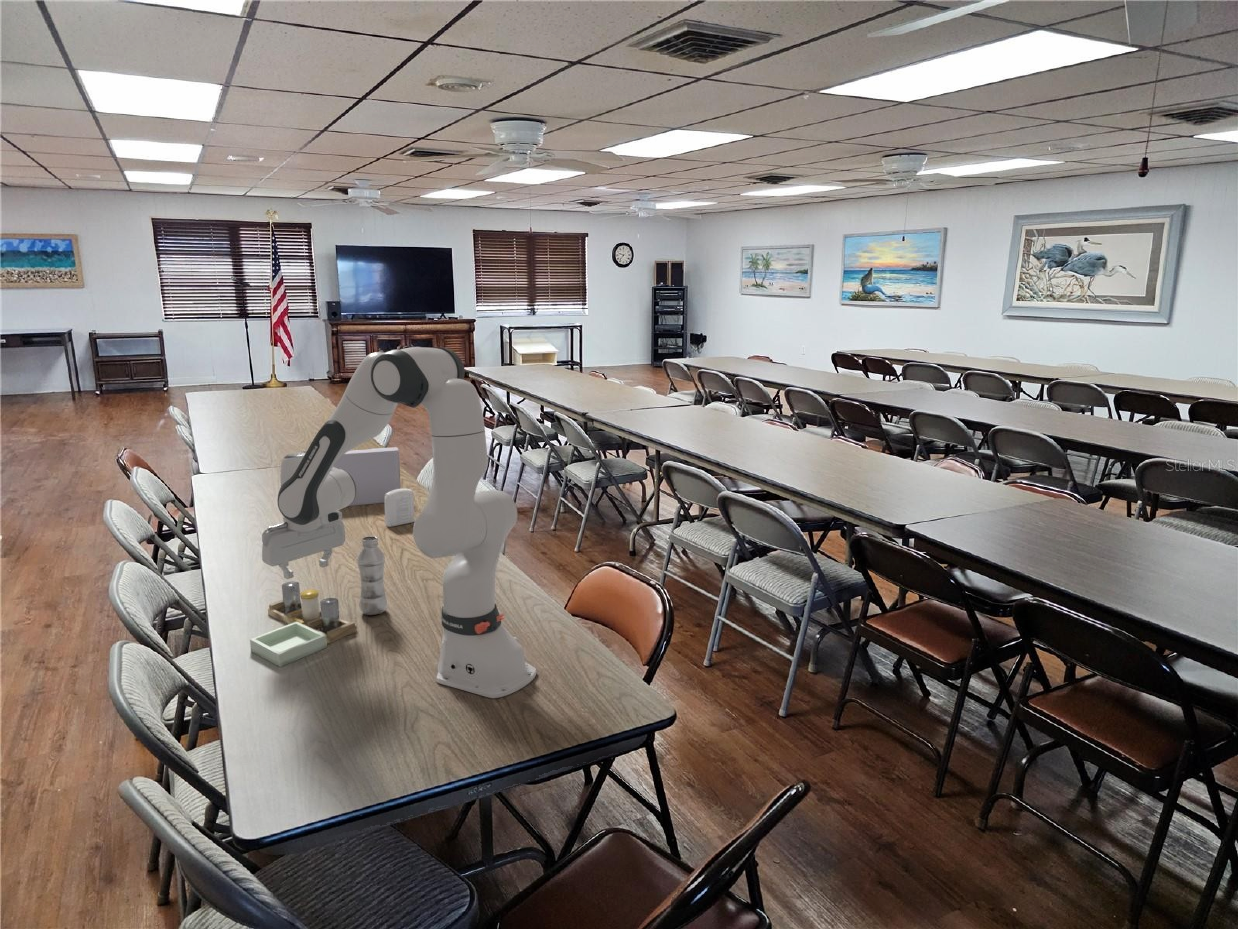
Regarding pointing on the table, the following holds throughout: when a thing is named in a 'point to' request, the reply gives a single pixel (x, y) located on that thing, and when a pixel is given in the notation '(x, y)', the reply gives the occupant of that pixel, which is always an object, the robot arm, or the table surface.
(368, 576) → the plastic bottle
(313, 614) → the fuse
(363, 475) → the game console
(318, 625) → the rack
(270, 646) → the tray
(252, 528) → the table surface
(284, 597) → the canister
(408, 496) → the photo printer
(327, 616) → the canister
